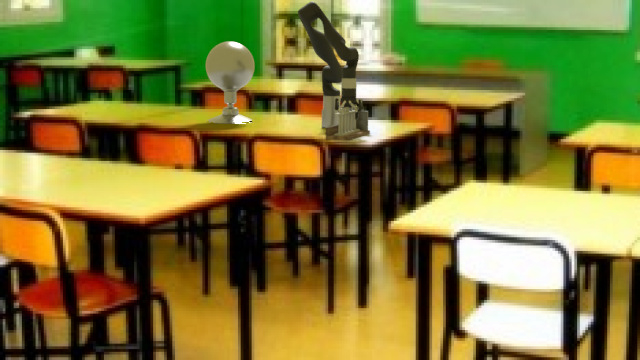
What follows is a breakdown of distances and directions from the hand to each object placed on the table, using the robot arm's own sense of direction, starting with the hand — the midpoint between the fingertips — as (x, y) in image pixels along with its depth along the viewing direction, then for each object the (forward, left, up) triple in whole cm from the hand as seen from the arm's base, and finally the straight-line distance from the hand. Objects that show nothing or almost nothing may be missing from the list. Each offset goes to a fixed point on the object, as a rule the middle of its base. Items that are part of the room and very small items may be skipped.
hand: (348, 119), depth 512 cm
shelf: (0, -1, -9) cm, 9 cm away
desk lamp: (-86, +35, -9) cm, 93 cm away
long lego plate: (0, -1, -7) cm, 7 cm away
